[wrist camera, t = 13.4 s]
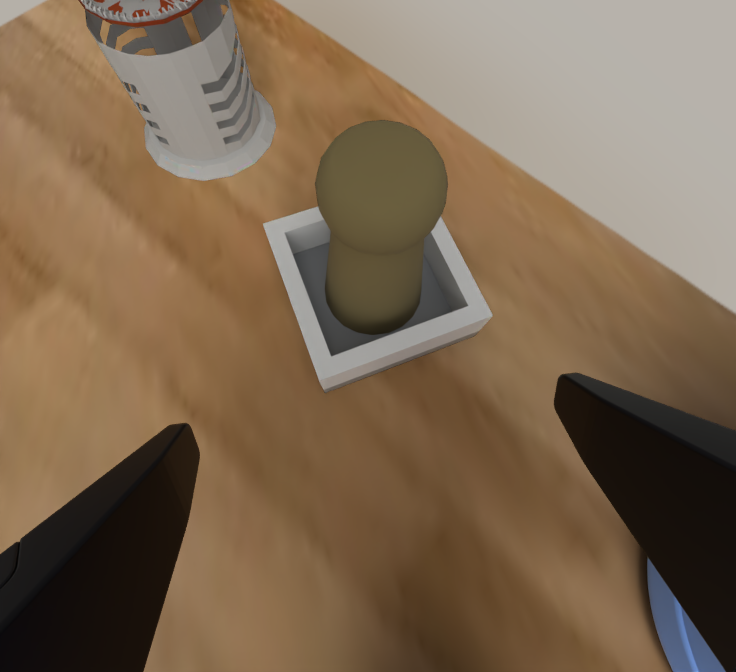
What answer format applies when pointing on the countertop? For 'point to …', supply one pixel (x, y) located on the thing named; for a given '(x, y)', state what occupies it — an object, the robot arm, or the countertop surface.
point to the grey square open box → (363, 351)
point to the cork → (378, 221)
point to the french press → (187, 85)
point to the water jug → (678, 630)
